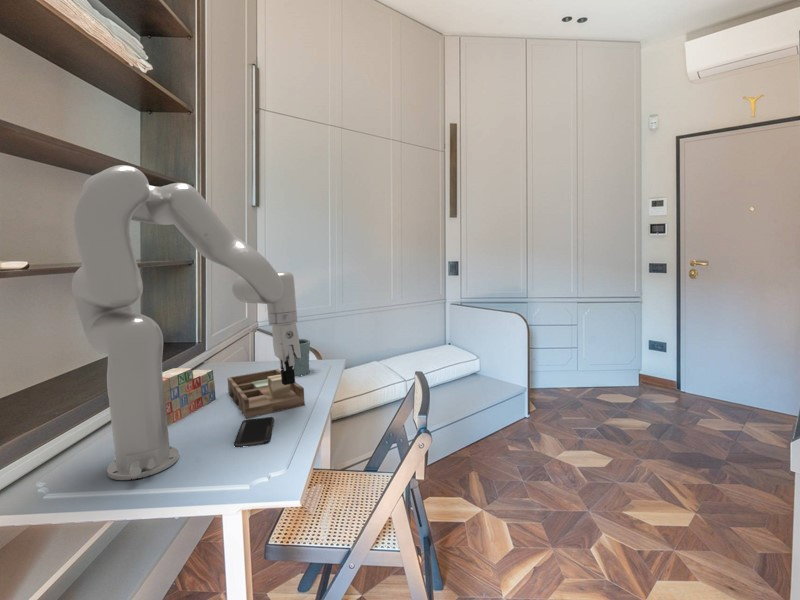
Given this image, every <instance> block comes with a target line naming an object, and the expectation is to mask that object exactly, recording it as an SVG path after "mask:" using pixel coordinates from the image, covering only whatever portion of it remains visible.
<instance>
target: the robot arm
mask: <svg viewBox="0 0 800 600" xmlns="http://www.w3.org/2000/svg"><path fill="white" fill-rule="evenodd" d="M74 210H75V211H74V213H73V214H74V215H73V229H74V231H73V232H74V236H75V240H76V244H77V248H78V253H79V257H80V260H81V266H80V267H79V268H78V269H77V270H76V271H75V273H74V274H73V276H72V280H71V290H72V291H71V292H72V296H73V299H74V304H75V306H76V310H77V312H78V313H77V314H78V315H79V316H78V317H79V319H80V322H81V325H82V328H83V331H84V334H85V337H86V339H87V342H88V343H89V345H90V347H92V349H94V351H96V352H97V353H99V354H102V355H104V356H107V368H106V370H107V371H106V387H107V388H106V389H107V390H106V391H107V396H108V404H109V413H110V422H111V430H112V438H113V439H112V440H113V441H112V442H113V448H114V449H113V450H114V455H115V456H114V457H115V459H114V460H113V461H112V462H110V463H109V464H108V466H107V468H106V472H107V477H109V478H110V479H112V480H117V481H129V480H131V479H132V480H136V479H137V478H138V479H141V478H142V477H143V478H145V477H150V476H153V475H155V474H158V473H160V472H162V471H165V470H167V469H169V468H170V467H171V466H173V465H174V464H175V463H176V462H177V461H178V460H179V457H180V456H179V455H180V454H179V450H178V449H177V448H176V447H173V446H170V438H169V437H170V436H169V427H168V426H167V415H166V405H165V395H164V387H163V375H162V372H163V355H164V354H163V353H164V335H163V331H162V329H161V327H160V326H159V324H158V323H157V322H156V321H155V320H154V319H152V318H151V317H149V316H147V315H144V314H142V313H136V312H134V311H133V308H132V305H133V304H136V303H137V302H138V301H139V300H140V298H141V297H142V295H143V290H144V285H143V279H142V276H141V272H140V269H139V265H138V262H137V259H136V255H135V252H134V248H133V244H132V239H131V233H130V228H131V227H130V225H131V222H132V221H133V222H134V221H135V222H141V223H146V224H153V225H161V226H162V225H163V226H167V225H169V226H170V225H174V226H175V227H176V228H177V229H178V232H180V233H181V234H182V236H184V237H185V238H186V239H187V241H188V242H189V243H190V244H191V245H192V246H193V248H195V250H196V251H197V252H198V253H199V254H200V255H201V257H204V259H207V260H209V261H211V262H212V263H216V264H218V265H220V266H224V267H225V268H228V269H230V270H231V271H233V272H235V273H236V274H237V275H239V276H238V277H237V278H236V279H235V280H234V281H233V284H232V287H231V291H232V293H233V296H234V297H235V298H236V299H237V300H238V301H240V302H243V303H247V304H260V305H261V304H263V305H264V304H265V305H266V307H267V308H266V309H267V319H268V325H269V326H271V327H272V329H271V331H272V346H273V353H274V356H275V358H278V360H279V365H280V367H279V368H280V371H281V378H282V384H283V385H288V384H293V383H295V382H296V377H295V375H294V366H295V362H294V357H295V358H297V359H300V358H301V352H300V344H299V339H300V338H299V331H298V327H297V323H298V314H297V313H298V312H297V301H296V300H297V299H296V291H295V279H294V278H295V277H294V275H293V273H292V272H289V271H276V269H275V268H274V267H273V266H272V264H271V263H270V262H269V261H268V260H267V258H265V257H264V255H262V254H261V253H260V252H259V251H258V250H256V249H255V248H253V247H252V246H251V245H249V244H248V243H246V242H245V241H244V240H242V239H240V238H239V237H238V236H236V235H235V234H234V233H233V232H232V231H231V229H230V228H228V226H227V225H226V223H224V222H223V221H222V219H221V218H220V217H219V215H218V214H217V213H216V211H215V210H214V209H213V208H212V207H211V205H210V204H209V203H208V202H207V200H206V199H205V197H204V196H203V195H202V194H201V193H200V192H199V191H198V189H196V188H195V187H194V186H192V185H191V184H189V183H185V182H174V183H169V184H167V185H162V186H156V185H155V186H154V185H150V183H149V180H148V178H147V176H146V175H145V174H144V172H142V171H141V170H140V169H138V168H136V167H134V166H131V165H124V164H121V165H118V164H117V165H114V166H111V167H108V168H106V169H103V170H102V171H100V172H97V173H95V174H93V175H91V176H90V177H89V178H87V179H86V180H85V181H84V183H83V185H82V189H81V195H80V197H79V199H78V201H77V203H76V207H75V209H74ZM149 475H150V476H149Z"/></svg>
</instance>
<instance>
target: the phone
mask: <svg viewBox="0 0 800 600" xmlns="http://www.w3.org/2000/svg"><path fill="white" fill-rule="evenodd" d="M274 424H275V417H273V416H267V417H257V418H247V419H244V420H242V421H241V424H240V426H239V429H238V431H237V434H236V436H235V439H234V442H233V447H234V446H235V447H240V448H244V447H243V446H248V447H253V446H254V447H255V446H261V445H268V444H270V442H271V439H272V435H273V428H274ZM235 447H234V448H235Z"/></svg>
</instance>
